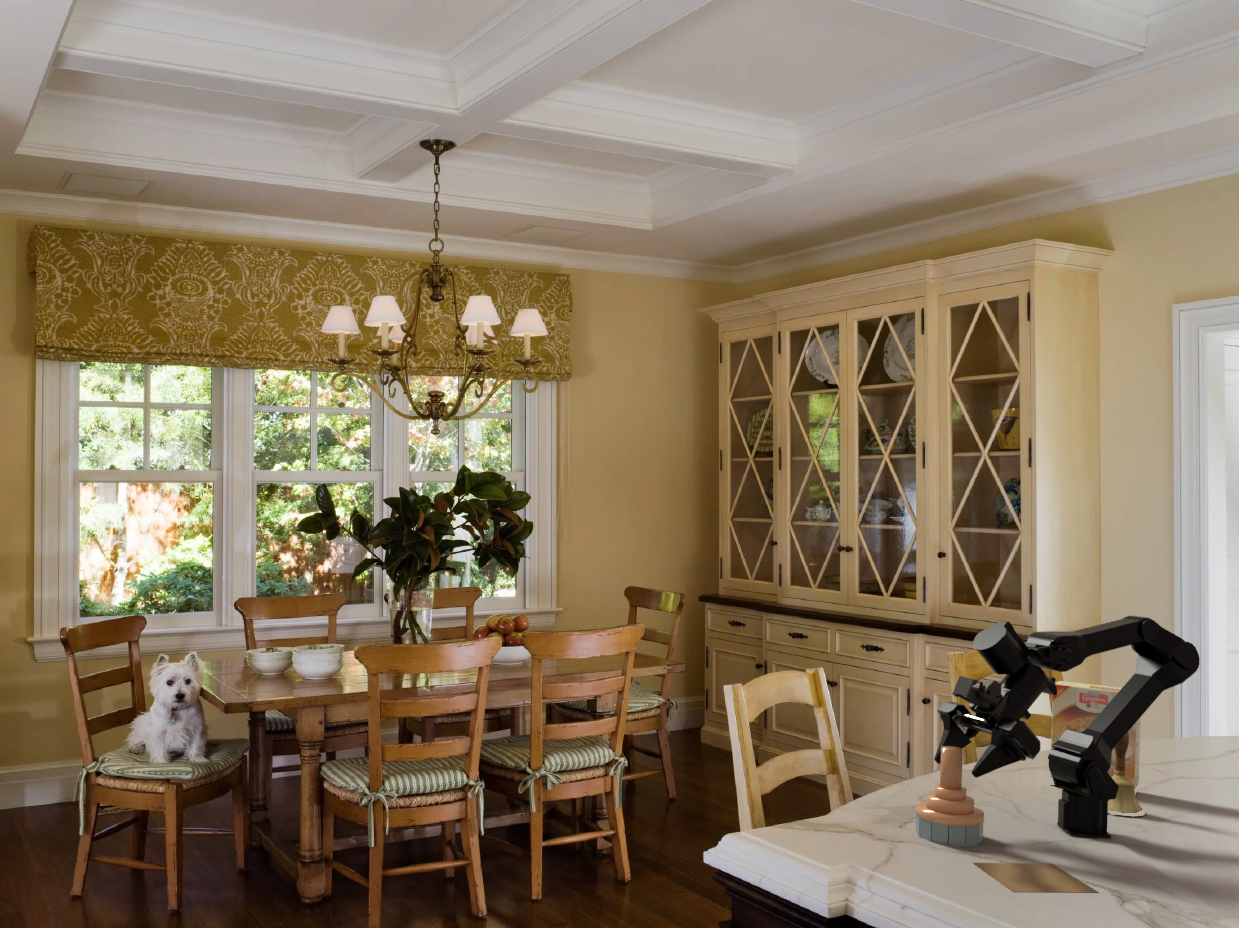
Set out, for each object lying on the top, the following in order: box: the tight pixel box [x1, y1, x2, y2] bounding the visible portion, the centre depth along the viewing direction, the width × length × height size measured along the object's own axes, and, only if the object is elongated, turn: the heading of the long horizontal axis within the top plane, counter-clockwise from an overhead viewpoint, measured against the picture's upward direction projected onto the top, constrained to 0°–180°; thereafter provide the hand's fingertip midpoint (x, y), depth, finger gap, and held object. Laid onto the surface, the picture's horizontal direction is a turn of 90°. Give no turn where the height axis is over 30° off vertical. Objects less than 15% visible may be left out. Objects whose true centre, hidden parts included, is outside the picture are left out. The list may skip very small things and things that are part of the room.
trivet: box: [972, 862, 1100, 894], centre depth 149 cm, size 12×12×1 cm
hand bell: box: [1108, 732, 1143, 813], centre depth 191 cm, size 8×8×16 cm
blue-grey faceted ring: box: [915, 815, 984, 847], centre depth 167 cm, size 10×10×4 cm
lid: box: [915, 746, 985, 826], centre depth 168 cm, size 10×10×10 cm
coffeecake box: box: [1049, 680, 1141, 790], centre depth 208 cm, size 15×7×20 cm, turn 58°
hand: (954, 768), depth 168 cm, fingers open, 9 cm apart
